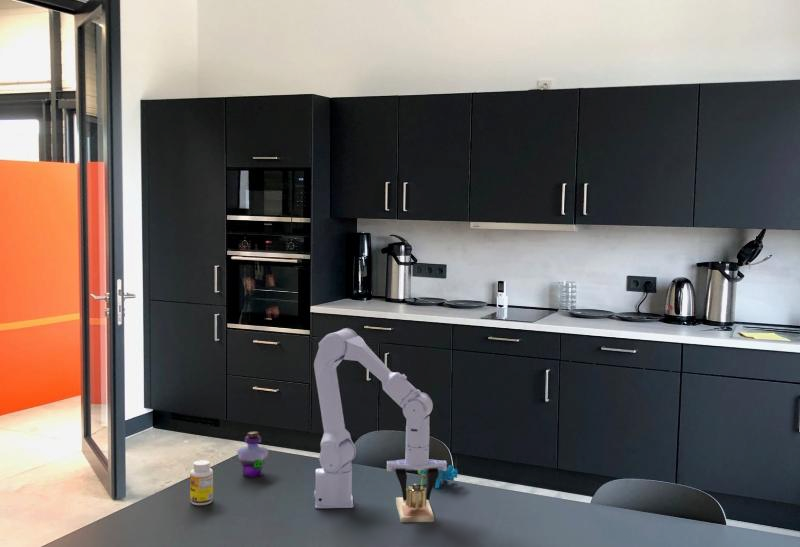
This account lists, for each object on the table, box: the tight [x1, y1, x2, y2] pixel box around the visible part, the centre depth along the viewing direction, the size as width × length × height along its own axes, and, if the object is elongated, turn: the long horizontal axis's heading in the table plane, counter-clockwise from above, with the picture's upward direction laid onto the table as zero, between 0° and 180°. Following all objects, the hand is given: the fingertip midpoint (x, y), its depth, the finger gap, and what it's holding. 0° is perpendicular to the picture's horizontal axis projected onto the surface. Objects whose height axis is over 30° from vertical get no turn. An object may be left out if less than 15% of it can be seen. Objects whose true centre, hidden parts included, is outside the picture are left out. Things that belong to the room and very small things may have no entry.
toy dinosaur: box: [417, 464, 459, 490], centre depth 214 cm, size 11×6×10 cm
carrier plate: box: [395, 496, 435, 523], centre depth 195 cm, size 8×13×1 cm, turn 6°
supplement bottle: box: [189, 459, 214, 506], centre depth 198 cm, size 6×6×10 cm
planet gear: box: [406, 482, 427, 509], centre depth 192 cm, size 5×5×5 cm
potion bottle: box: [236, 431, 269, 479], centre depth 219 cm, size 9×9×12 cm
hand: (415, 498), depth 193 cm, fingers closed on planet gear, 5 cm apart
